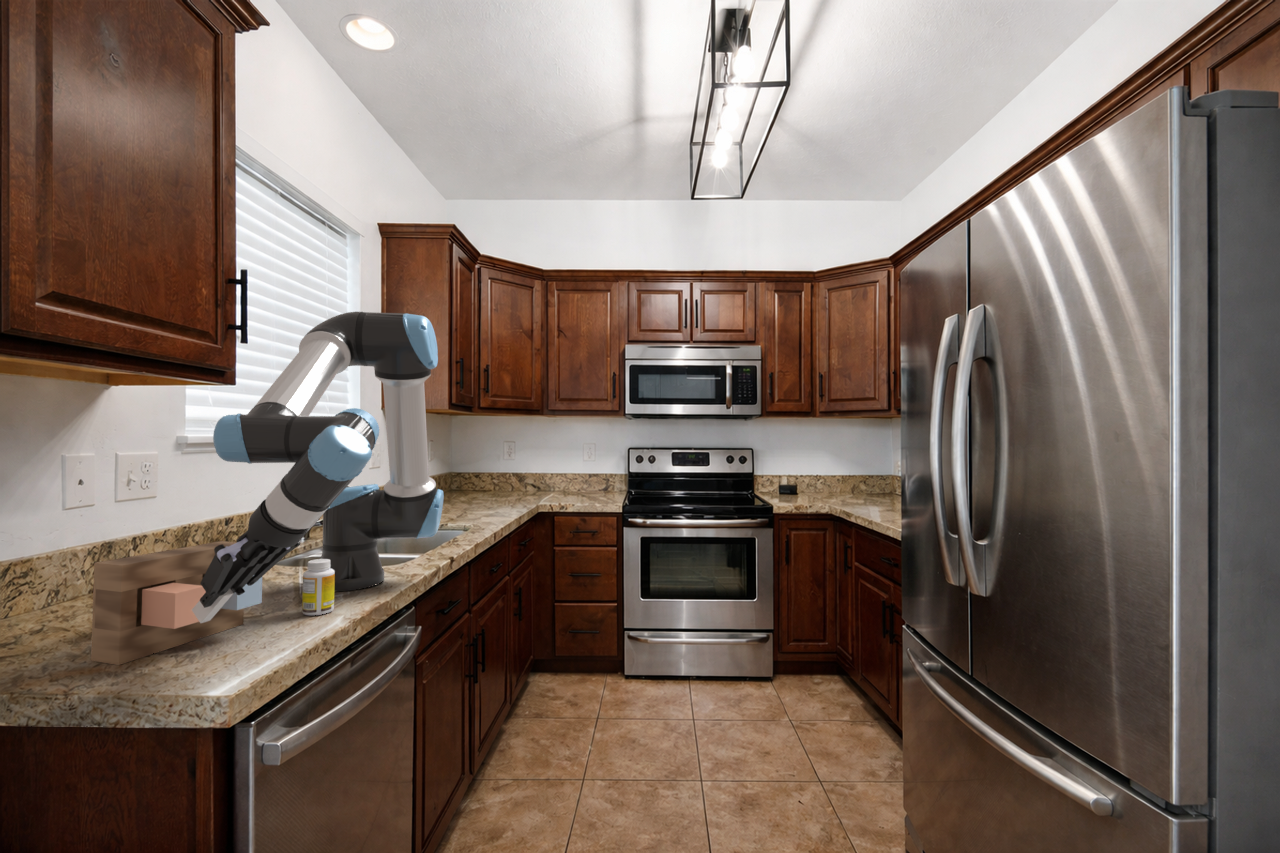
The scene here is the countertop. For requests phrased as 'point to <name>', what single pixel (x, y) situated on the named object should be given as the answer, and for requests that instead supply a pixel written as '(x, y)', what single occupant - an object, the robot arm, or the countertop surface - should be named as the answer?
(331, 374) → the robot arm
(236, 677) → the countertop surface
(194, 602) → the terracotta button
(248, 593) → the slate button
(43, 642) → the countertop surface
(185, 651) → the countertop surface
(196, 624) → the brown wooden block
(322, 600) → the supplement bottle
